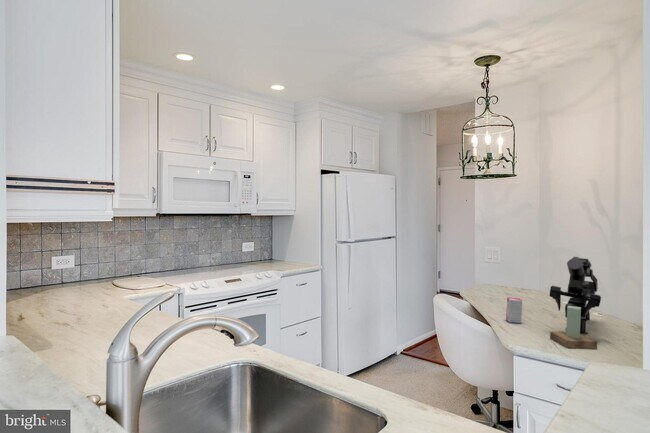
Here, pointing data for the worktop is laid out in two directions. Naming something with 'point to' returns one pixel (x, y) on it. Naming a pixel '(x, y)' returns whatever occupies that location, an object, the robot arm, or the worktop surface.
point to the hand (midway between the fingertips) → (571, 313)
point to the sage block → (573, 322)
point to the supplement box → (514, 310)
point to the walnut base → (573, 341)
